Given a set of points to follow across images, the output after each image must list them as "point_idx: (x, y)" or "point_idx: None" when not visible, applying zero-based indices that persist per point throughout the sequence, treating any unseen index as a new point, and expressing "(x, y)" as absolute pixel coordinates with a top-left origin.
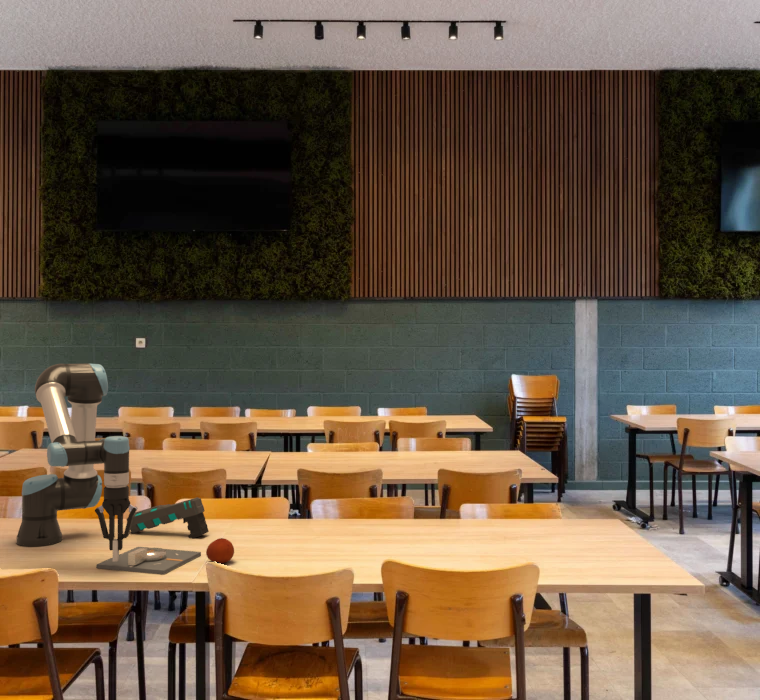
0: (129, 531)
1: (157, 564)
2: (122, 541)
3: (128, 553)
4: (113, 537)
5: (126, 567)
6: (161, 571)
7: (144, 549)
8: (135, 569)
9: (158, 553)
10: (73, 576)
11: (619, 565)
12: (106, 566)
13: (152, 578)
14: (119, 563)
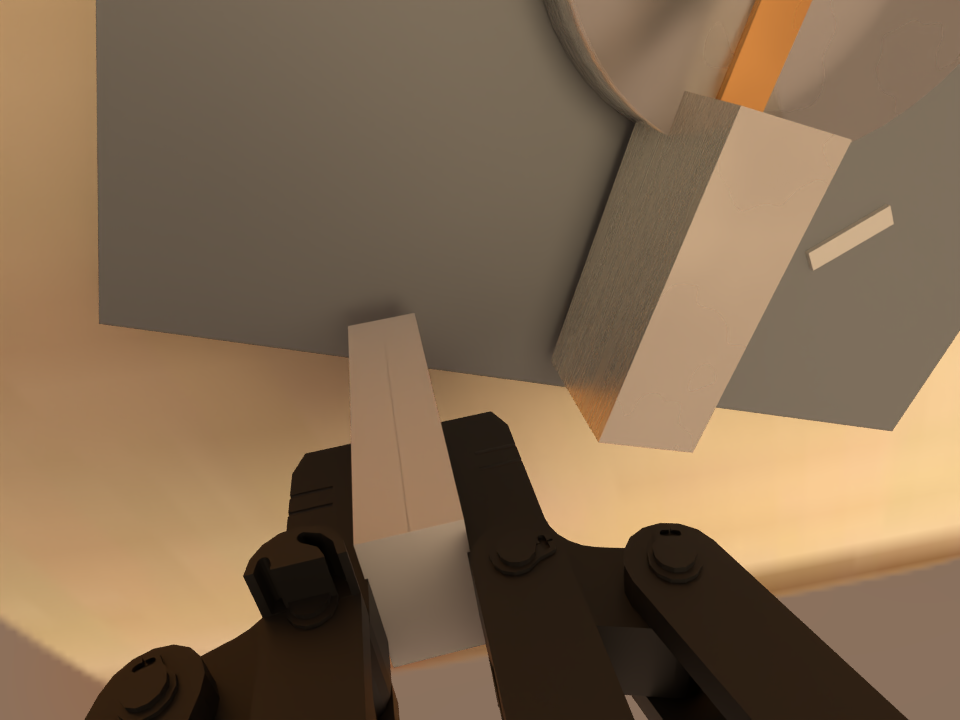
0: (788, 626)
1: (850, 244)
2: (538, 509)
3: (601, 441)
4: (384, 673)
5: (534, 380)
6: (865, 423)
7: (810, 205)
8: None
9: (951, 17)
10: (74, 586)
11: None
12: (268, 338)
13: (778, 508)
14: (398, 246)
